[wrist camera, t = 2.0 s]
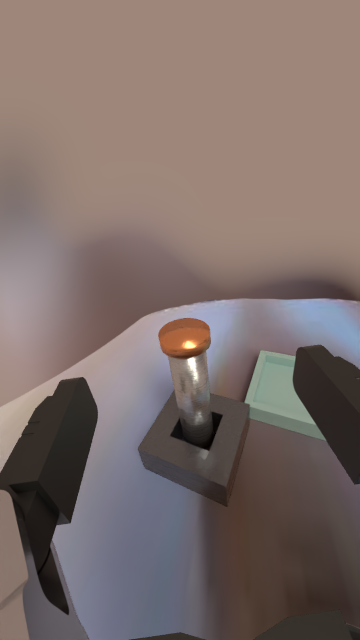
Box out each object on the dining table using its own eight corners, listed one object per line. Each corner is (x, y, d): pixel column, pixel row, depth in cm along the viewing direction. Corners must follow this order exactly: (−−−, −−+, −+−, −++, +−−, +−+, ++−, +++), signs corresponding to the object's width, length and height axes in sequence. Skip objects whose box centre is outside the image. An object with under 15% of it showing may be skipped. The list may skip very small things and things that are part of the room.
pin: (190, 424, 33) (173, 315, 24) (223, 435, 31) (216, 321, 22) (175, 455, 30) (148, 342, 21) (211, 470, 28) (198, 352, 19)
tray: (260, 360, 42) (260, 350, 41) (342, 376, 37) (345, 365, 36) (243, 416, 33) (243, 405, 32) (348, 447, 28) (353, 435, 27)
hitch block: (181, 403, 36) (177, 384, 34) (249, 424, 32) (250, 404, 30) (145, 468, 29) (137, 448, 27) (227, 506, 25) (226, 486, 23)
